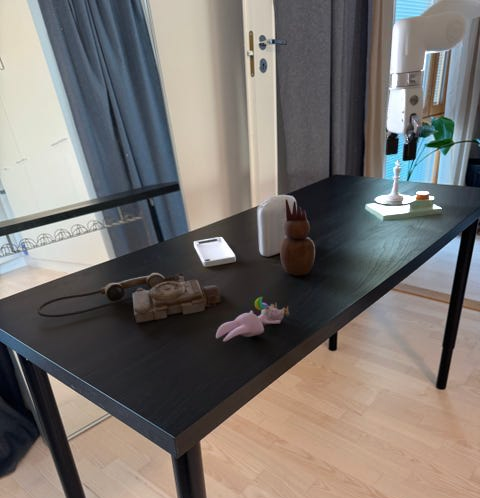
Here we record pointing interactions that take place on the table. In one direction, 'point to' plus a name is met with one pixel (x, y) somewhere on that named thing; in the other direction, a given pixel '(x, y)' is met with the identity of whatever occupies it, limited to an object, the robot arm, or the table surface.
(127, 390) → the table surface
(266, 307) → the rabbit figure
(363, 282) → the table surface
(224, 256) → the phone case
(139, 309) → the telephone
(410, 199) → the pan
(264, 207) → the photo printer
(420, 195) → the tare button
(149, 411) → the table surface
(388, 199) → the chess piece
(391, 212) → the scale
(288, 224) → the wooden figurine
